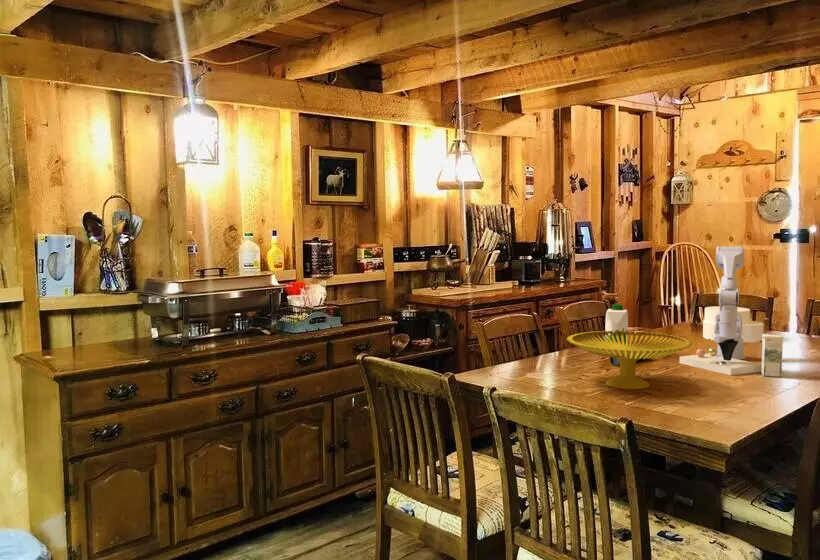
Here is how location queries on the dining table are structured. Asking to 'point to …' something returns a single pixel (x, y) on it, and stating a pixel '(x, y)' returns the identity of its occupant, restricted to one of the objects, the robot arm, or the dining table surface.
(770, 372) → the syrup box
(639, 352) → the cake stand
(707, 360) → the hole plate
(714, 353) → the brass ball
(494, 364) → the dining table surface
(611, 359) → the flashlight
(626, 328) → the milk carton
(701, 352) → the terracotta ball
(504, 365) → the dining table surface
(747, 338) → the container
